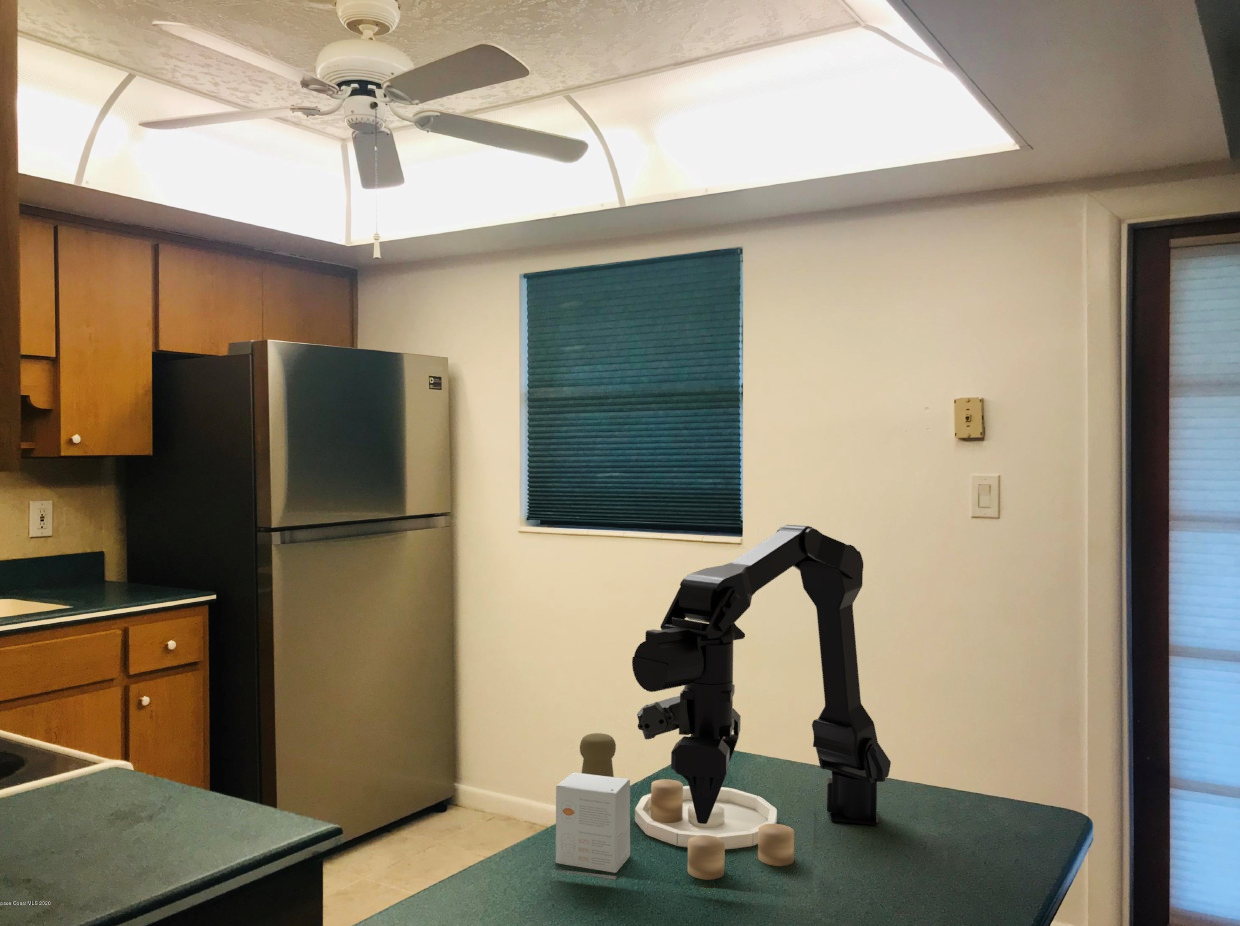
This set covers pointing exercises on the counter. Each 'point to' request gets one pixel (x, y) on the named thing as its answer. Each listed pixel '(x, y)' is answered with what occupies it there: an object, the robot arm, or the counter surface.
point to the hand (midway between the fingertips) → (707, 808)
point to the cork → (597, 754)
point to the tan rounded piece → (706, 857)
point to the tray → (730, 832)
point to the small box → (593, 823)
